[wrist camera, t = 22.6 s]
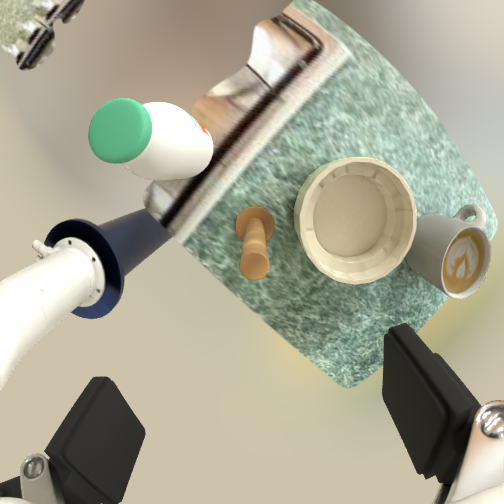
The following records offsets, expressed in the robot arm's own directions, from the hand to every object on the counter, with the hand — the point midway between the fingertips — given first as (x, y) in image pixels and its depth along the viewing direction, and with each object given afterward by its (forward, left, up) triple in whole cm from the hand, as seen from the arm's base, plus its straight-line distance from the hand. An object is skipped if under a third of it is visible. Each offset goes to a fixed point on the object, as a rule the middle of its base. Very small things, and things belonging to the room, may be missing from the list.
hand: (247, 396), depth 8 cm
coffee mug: (+25, +14, -31) cm, 42 cm away
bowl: (+10, +8, -30) cm, 33 cm away
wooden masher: (0, 0, -30) cm, 30 cm away
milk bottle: (-13, +4, -31) cm, 33 cm away
